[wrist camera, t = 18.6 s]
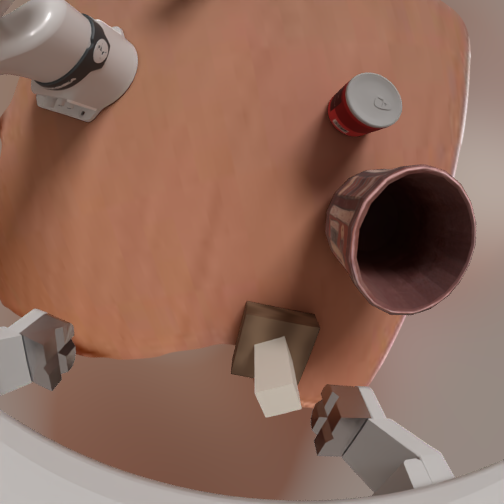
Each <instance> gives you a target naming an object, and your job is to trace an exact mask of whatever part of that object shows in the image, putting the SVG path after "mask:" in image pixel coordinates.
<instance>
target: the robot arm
mask: <svg viewBox="0 0 504 504" xmlns="http://www.w3.org/2000/svg"><path fill="white" fill-rule="evenodd" d="M13 1H14V0H0V75H3V74H10V75H16V76H21V77H25V78H29V79H32V81H31V89H32V92H33V93H34V94H37V95H36V99H37V105H38V106H39V107H41V108H44V109H47V110H51V111H54V112H57V113H60V114H64V115H67V116H70V117H73V118H76V119H79V120H82V121H85V122H90V121H92V120H93V119H94V118H95V117H96V116H97V115H98V113H99V112H100V111H101V110H102V109H103V108H105V107H106V106H108V105H110V104H111V103H113V102H114V101H116V100H117V99H118V98H119V97H120V96H122V94H123V93H124V92H125V91H126V90H127V89H128V87H129V86H130V84H131V82H132V81H133V79H134V76H135V74H136V70H137V65H138V57H137V52H136V50H135V48H134V46H133V45H132V44H131V43H130V42H129V41H127V40H126V39H125V37H124V34H123V31H122V29H121V28H119V27H110V26H109V25H107V24H106V23H104V22H103V21H101V20H95V19H93V18H91V17H90V16H88V15H86V14H82V13H80V12H79V11H77V10H76V9H75V8H74V7H72V6H71V5H70V4H69V3H67V2H66V1H65V0H31V1H29V2H27V3H25V4H23V5H22V6H20V7H19V8H17V9H16V10H14V11H13V12H11V13H10V14H7V15H6V16H3V14H4V13H5V12H6V10H7V9H8V8H9V6H10V5H11V4H12V3H13ZM2 16H3V17H2ZM83 112H85V114H84V115H83ZM73 336H74V327H73V325H72V324H71V323H69V322H67V321H65V320H62V319H60V318H58V317H55V316H53V315H51V314H48V313H46V312H44V311H41V310H39V309H33V310H32V311H30V312H29V313H27V314H26V315H25V316H23V317H22V318H21V319H19V320H18V321H16V322H15V323H14V324H12V325H11V326H10V327H8V328H7V327H5V326H3V327H0V396H1V395H3V394H6V393H8V392H10V391H13V390H15V389H18V388H20V387H23V386H25V385H27V384H30V383H32V382H34V383H36V384H38V385H40V386H42V387H44V388H46V389H49V390H51V391H53V389H54V388H55V387H56V386H57V385H58V383H59V382H60V381H61V374H62V373H66V372H68V371H69V370H70V369H71V367H72V366H73V363H74V360H75V354H76V350H75V345H74V343H73V342H72V340H71V338H72V337H73ZM321 396H322V400H321V401H319V402H318V403H316V404H315V407H314V409H313V411H312V416H311V428H312V431H313V432H315V434H316V435H317V436H316V438H315V440H314V443H315V447H316V452H317V456H342V458H343V460H344V461H345V462H346V463H347V464H348V465H349V466H350V467H351V468H352V469H353V470H354V472H355V473H356V474H357V475H358V476H359V477H360V478H361V479H362V480H363V481H364V482H365V483H366V484H367V486H368V487H369V488H370V489H371V490H372V491H374V494H373V495H372V496H368V497H360V498H350V499H337V500H318V501H317V500H314V501H289V500H266V499H254V498H244V497H235V496H227V495H220V494H214V493H208V492H202V491H197V490H192V489H187V488H182V487H178V486H174V485H170V484H166V483H162V482H158V481H155V480H151V479H147V478H144V477H141V476H138V475H135V474H131V473H129V472H126V471H123V470H120V469H117V468H114V467H112V466H109V465H106V464H104V463H101V462H99V461H96V460H94V459H92V458H89V457H87V456H85V455H82V454H80V453H78V452H76V451H73V450H71V449H69V448H67V447H65V446H63V445H61V444H59V443H57V442H55V441H53V440H51V439H49V438H47V437H45V436H43V435H42V434H40V433H38V432H36V431H35V430H33V429H31V428H29V427H28V426H26V425H24V424H23V423H21V422H19V421H18V420H16V419H15V418H13V417H12V416H10V415H8V414H7V413H5V412H4V411H2V410H1V409H0V504H504V459H503V460H501V461H499V462H497V463H494V464H492V465H490V466H487V467H484V468H482V469H479V470H476V471H474V472H471V473H468V474H465V475H462V476H459V477H456V478H455V477H454V475H453V473H452V472H451V470H450V468H449V466H448V465H447V462H446V461H445V459H444V457H443V455H442V453H441V452H439V451H438V450H436V449H434V448H433V447H431V446H430V445H428V444H427V443H425V442H424V441H422V440H421V439H419V438H418V437H417V436H415V435H414V434H412V433H411V432H409V431H408V430H406V429H405V428H403V427H402V426H400V425H399V424H398V423H396V422H395V421H393V420H392V419H387V418H386V416H385V414H384V412H383V410H382V408H381V406H380V404H379V402H378V400H377V398H376V396H375V394H374V392H373V390H372V389H371V388H370V387H366V386H355V387H353V386H340V385H329V384H327V385H326V386H325V387H324V388H323V390H322V392H321Z"/></svg>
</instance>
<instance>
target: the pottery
mask: <svg viewBox="0 0 504 504" xmlns="http://www.w3.org/2000/svg"><path fill="white" fill-rule="evenodd" d="M325 233H326V236H327V239H328V242H329V245H330V249H331V251H332V253H333V254H334V255H335V257H336V258H337V259H338V260H339V262H340V263H341V264H342V265H343V267H344V268H345V269H346V270H347V272H348V273H349V275H350V277H351V279H352V281H353V283H354V284H355V286H356V287H357V288H358V290H359V291H360V292H361V293H362V294H363V296H364V297H365V298H366V299H367V301H368V302H369V303H370V304H371V305H373V306H375V307H377V308H378V309H380V310H382V311H384V312H386V313H388V314H390V315H413V314H416V313H420V312H423V311H425V310H429V309H431V308H432V307H434V306H435V305H437V304H438V303H439V302H441V301H442V300H443V299H445V298H446V297H448V296H449V294H450V293H451V292H452V291H453V290H454V288H455V287H456V286H457V285H458V284H459V282H460V281H461V279H462V277H463V276H464V273H465V272H466V270H467V268H468V266H469V264H470V261H471V258H472V255H473V252H474V248H475V243H476V221H475V216H474V212H473V208H472V204H471V202H470V199H469V198H468V196H467V194H466V193H465V190H464V189H463V187H462V185H461V184H460V183H459V182H458V181H457V180H456V179H455V178H453V177H452V176H451V175H450V174H449V173H447V172H446V171H445V170H442V169H438V168H435V167H432V166H428V165H412V166H403V167H398V168H394V169H377V170H366V171H363V172H361V173H359V174H357V175H355V176H353V177H351V178H349V179H348V180H347V181H346V182H345V183H344V184H343V185H342V186H341V187H340V188H339V189H338V190H337V191H336V192H335V194H334V196H333V198H332V201H331V203H330V205H329V208H328V210H327V218H326V232H325Z"/></svg>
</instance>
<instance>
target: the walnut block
mask: <svg viewBox="0 0 504 504" xmlns="http://www.w3.org/2000/svg"><path fill="white" fill-rule="evenodd" d="M319 330H320V326H319V324H318V322H317V319H316V317H315V314H309V313H304V312H299V311H294V310H289V309H284V308H279V307H274V306H269V305H264V304H259V303H255V302H250V301H247V303H246V307H245V311H244V315H243V319H242V323H241V327H240V330H239V334H238V338H237V342H236V346H235V350H234V355H233V359H232V368H231V374H234V375H240V376H245V377H250V378H255V364H254V345H255V344H259V343H262V342H266V341H270V340H273V339H277V338H280V337H284V336H285V339H286V342H287V345H288V348H289V351H290V354H291V357H292V361H293V366H294V371H295V376H296V382H297V385H298V384H299V381H300V379H301V376H302V374H303V371H304V369H305V366H306V364H307V361H308V359H309V356H310V354H311V351H312V349H313V346H314V343H315V341H316V338H317V335H318V333H319Z"/></svg>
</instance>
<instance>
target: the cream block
mask: <svg viewBox="0 0 504 504" xmlns="http://www.w3.org/2000/svg"><path fill="white" fill-rule="evenodd" d="M254 364H255V395H256V397H257V400H258V402H259V404H260V406H261V408H262V410H263V413H264V415H265V417H270V416H275V415H279V414H283V413H287V412H291V411H295V410H298V409H301V403H300V397H299V392H298V387H297V382H296V376H295V371H294V366H293V361H292V357H291V354H290V351H289V348H288V345H287V342H286V339H285V336H284V337H280V338H277V339H273V340H270V341H266V342H262V343H259V344H255V345H254Z"/></svg>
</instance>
